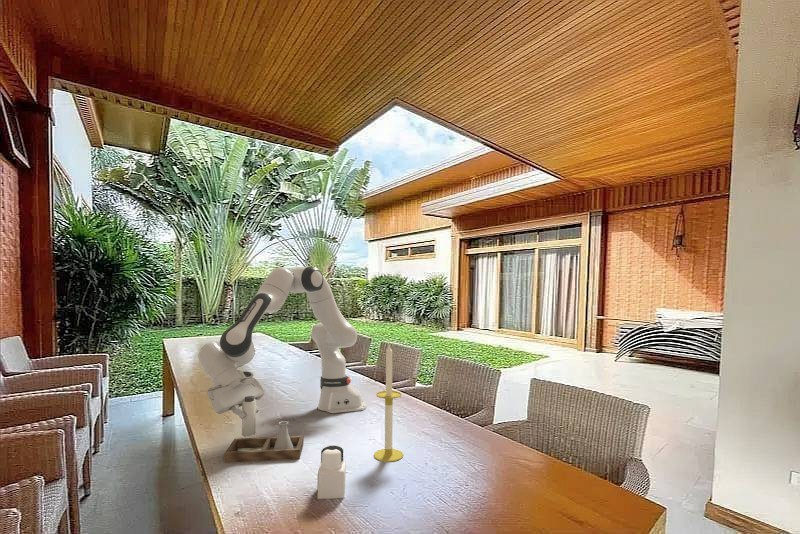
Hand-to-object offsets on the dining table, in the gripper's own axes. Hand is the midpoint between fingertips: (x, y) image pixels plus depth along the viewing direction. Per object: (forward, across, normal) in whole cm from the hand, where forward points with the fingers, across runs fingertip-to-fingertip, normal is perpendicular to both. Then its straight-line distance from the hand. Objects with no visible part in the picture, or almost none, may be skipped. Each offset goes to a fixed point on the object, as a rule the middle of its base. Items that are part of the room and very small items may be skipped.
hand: (250, 414), depth 138 cm
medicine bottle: (+37, -11, -18) cm, 42 cm away
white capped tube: (+4, 0, +5) cm, 6 cm away
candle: (+40, +17, -21) cm, 48 cm away
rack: (+12, +3, +6) cm, 14 cm away
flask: (+16, +6, +3) cm, 17 cm away
